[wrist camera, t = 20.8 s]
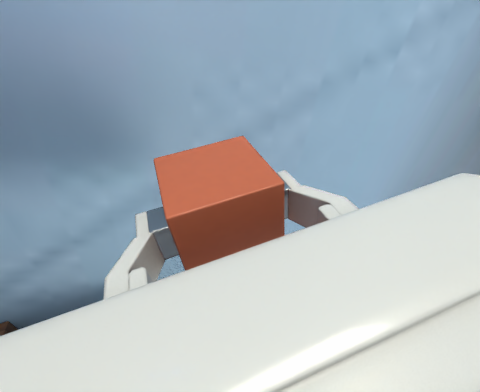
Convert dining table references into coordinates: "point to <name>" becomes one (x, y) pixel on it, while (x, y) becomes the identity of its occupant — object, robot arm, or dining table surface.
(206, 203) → the block
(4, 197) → the dining table surface
